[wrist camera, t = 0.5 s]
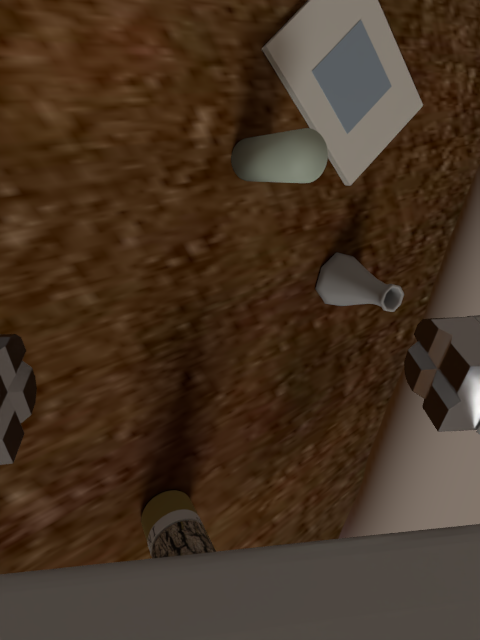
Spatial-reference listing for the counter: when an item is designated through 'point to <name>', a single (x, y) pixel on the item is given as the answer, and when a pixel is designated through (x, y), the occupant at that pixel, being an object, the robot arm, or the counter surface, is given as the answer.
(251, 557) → the robot arm
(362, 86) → the card
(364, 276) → the flask
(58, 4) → the counter surface
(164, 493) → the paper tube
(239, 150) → the pale green cylinder
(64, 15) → the counter surface
